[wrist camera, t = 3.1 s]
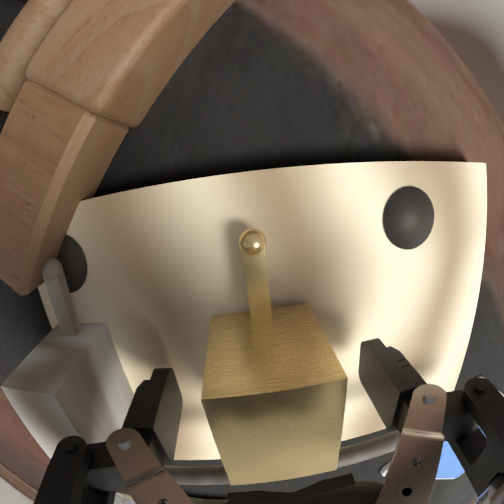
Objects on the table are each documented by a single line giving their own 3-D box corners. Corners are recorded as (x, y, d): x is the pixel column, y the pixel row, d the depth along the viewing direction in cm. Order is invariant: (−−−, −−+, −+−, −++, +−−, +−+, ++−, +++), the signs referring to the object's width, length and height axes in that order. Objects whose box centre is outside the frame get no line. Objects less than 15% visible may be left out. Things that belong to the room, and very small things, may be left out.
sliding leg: (230, 402, 13) (231, 485, 9) (196, 232, 11) (169, 278, 6) (310, 391, 13) (336, 469, 9) (302, 219, 11) (351, 255, 6)
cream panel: (124, 441, 16) (101, 516, 10) (37, 212, 12) (-60, 244, 6) (439, 391, 17) (485, 450, 10) (468, 162, 13) (563, 171, 6)
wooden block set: (272, -89, 5) (11, 319, 8) (259, -19, 10) (72, 271, 14) (26, -96, 1) (-118, 154, 5) (58, -62, 7) (-67, 149, 10)
